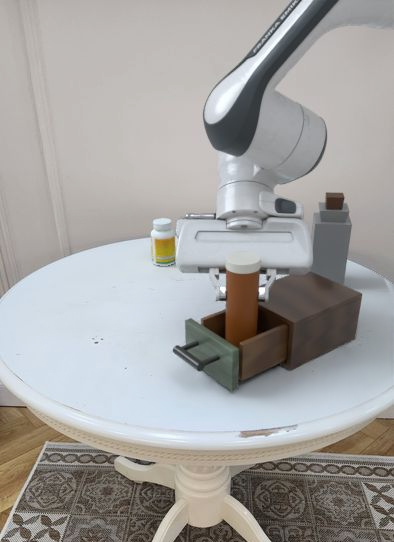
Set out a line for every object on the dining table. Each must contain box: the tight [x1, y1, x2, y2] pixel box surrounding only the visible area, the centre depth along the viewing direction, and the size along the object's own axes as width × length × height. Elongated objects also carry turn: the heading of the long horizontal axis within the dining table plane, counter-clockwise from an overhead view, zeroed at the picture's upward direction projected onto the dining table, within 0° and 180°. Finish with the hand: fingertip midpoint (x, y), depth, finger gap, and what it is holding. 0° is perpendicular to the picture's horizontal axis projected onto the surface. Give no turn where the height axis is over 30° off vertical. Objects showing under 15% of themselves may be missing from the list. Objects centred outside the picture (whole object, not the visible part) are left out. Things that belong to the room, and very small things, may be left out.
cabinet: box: [258, 271, 363, 372], centre depth 89 cm, size 16×13×9 cm
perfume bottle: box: [309, 191, 353, 286], centre depth 105 cm, size 7×7×18 cm
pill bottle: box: [225, 251, 261, 349], centre depth 79 cm, size 5×5×16 cm
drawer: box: [172, 308, 290, 392], centre depth 82 cm, size 19×11×7 cm, turn 127°
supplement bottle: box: [150, 217, 177, 267], centre depth 118 cm, size 5×5×10 cm
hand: (242, 300), depth 78 cm, fingers closed on pill bottle, 5 cm apart
